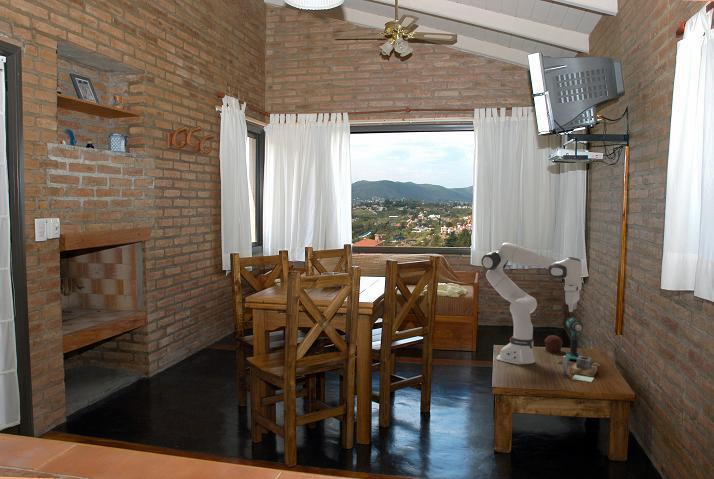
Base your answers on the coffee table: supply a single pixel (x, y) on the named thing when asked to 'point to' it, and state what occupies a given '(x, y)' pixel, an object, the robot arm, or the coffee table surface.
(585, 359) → the block
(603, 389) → the coffee table surface
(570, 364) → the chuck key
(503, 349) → the robot arm
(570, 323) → the power drill
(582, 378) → the mat
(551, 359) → the coffee table surface
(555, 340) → the muffin
